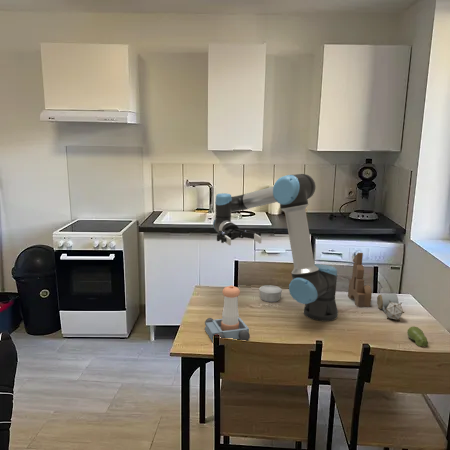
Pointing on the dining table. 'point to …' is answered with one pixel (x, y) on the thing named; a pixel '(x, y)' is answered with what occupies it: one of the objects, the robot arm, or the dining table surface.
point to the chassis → (215, 328)
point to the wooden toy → (359, 284)
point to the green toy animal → (417, 336)
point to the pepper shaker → (230, 309)
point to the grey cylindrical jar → (386, 300)
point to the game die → (394, 310)
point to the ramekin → (270, 293)
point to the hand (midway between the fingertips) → (245, 241)
